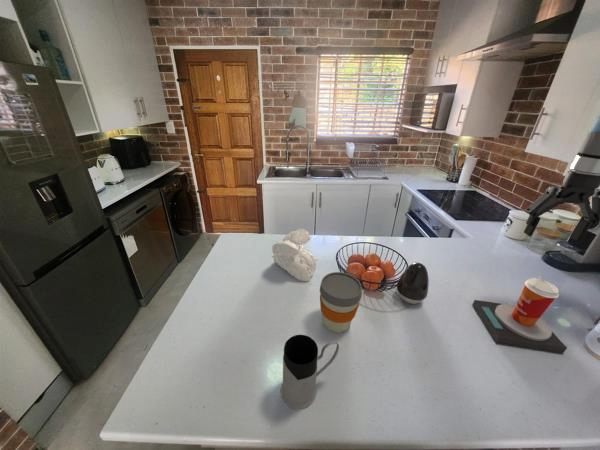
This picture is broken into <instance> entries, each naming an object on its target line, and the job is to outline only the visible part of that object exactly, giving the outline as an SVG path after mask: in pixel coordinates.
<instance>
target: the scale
mask: <svg viewBox="0 0 600 450" xmlns="http://www.w3.org/2000/svg"><path fill="white" fill-rule="evenodd" d="M515 306H516V304H512V303H500V302H493V301H485V300H478V299H474V300H473V302H472V307H473V310H474V311H475V312H476V314H477V315H478V318H480V320H481V322H482V323H483V326H484V327H485V328H486V330H487V331H488V333H489V335H490V336H491V338H492V340H493V341H494V343H495V344H498V345H504V346H505V345H506V346H511V347H517V348H522V349H523V348H524V349H530V350H535V351H536V350H537V351H543V352H550V353H557V354H564V353H565V351H567V349H568V346H566V345H565V344H564V343H563V342H562V340H561V339H560V338H559V337H558V336H557V335H556V334H555V333H554V332H553V330H552V328H551V326H550V325H549V324H548V323H547V322H546V320H544V319H543V318H542V317H540V318H539V319H538V320H537V322H536V323H535V324H534V325H533V326H531V327H528V326H524V325H522V324H520V323H518V322H516V321H515V320H514V319H513V318H512V313H513V310H514V308H515Z"/></svg>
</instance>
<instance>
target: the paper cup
mask: <svg viewBox="0 0 600 450" xmlns="http://www.w3.org/2000/svg"><path fill="white" fill-rule="evenodd" d="M522 288H523V289H522V290H521V293H520V295H519V297H518V299H517V301H516V304H515V305H516V306H515V308H514V310H513V313H512V318H513V319H514V320H515V321H516V322H518V323H520V324H522V325H524V326H528V327H531V326H533V325H534V324H535V323H536V322H537V320H538V319H539V318H542V315H544V313H545V312H546V310H548V308H550V306H551V304H552V303H553V302H554V300H555V299H557V298H559V296H560V295H559V292H560V291H559V288H557V286H555V285H554V284H553V283H551V282H549V281H545V280H544V279H538V278H536V277H530V278H529V279H527V280H526V281H524V286H523V287H522Z"/></svg>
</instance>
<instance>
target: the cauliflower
mask: <svg viewBox="0 0 600 450" xmlns="http://www.w3.org/2000/svg"><path fill="white" fill-rule="evenodd" d="M310 240H311V234H310V233H309V231H307V230H306V229H303V228H299V229H297V230H292V231H290V232H288V233H287V234H286V235H285V236H284V237H283V238H282V240H281V241H277V242H276V243H274V244H273V245H272V247H271V252H272V255H271V258H273V259H272V260H273V262H274V263H275V264H276V266H280V268H281V269H283V270H284V271H287V273H288V274H289V275H290V276H292V277H294V278H295V279H296V280H298V281H301V282H308V281H310V280H311V278H313V276H314V275H315V273H316V270H317V261H318V259H317V258H315V256H314V254H313V253H311V250H306V249H305V247H304V246H305V245H306V244H307V243H309V241H310Z"/></svg>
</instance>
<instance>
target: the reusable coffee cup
mask: <svg viewBox="0 0 600 450" xmlns="http://www.w3.org/2000/svg"><path fill="white" fill-rule="evenodd" d="M362 292H363V286H362V283H361V282H360V280H359V279H358V278H356V277H355V276H354V275H352V274H350V273H346V272H342V271H334V272H330V273H328V274H327V273H326V275H324V276H323V277H322V279H321V281H320V287H319V293H320V294H319V305H320V307H319V308H320V312H321V316H322V323H323V325H324V326H325V328H326V329H328V330H330V331H331V332H333V333H342V332H346V331H347V330H348V329H349V328H350V326H351V324H352V321H353V319H354V318H355V317H356V314H357V311H358V309H359V307H360V301H361V300H362V295H363V293H362Z"/></svg>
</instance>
